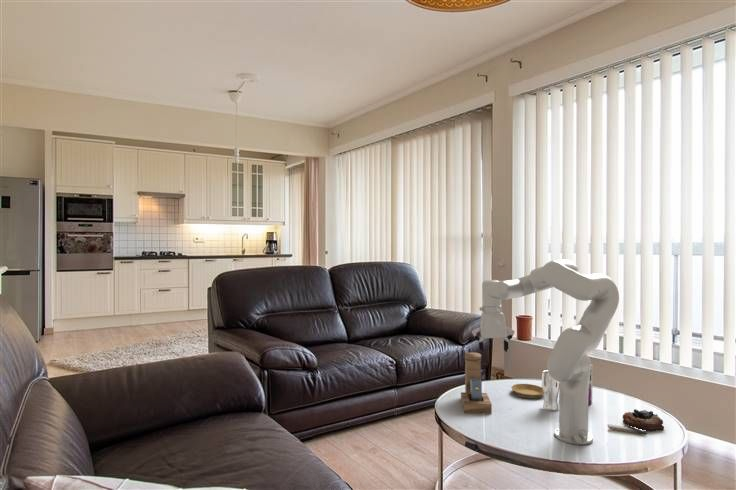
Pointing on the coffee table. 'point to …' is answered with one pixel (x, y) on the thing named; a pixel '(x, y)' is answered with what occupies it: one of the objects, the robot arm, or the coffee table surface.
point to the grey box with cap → (475, 389)
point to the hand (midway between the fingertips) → (493, 351)
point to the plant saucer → (528, 390)
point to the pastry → (643, 420)
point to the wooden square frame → (470, 371)
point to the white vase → (550, 391)
